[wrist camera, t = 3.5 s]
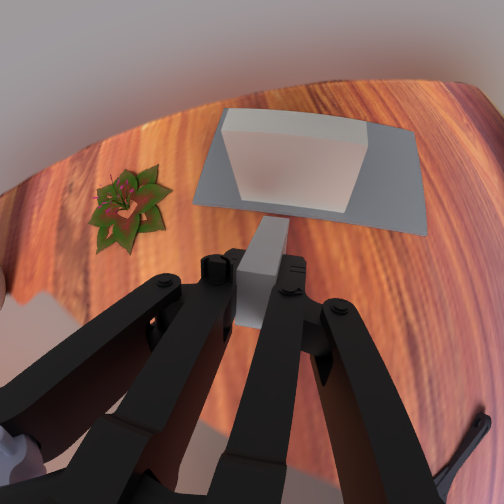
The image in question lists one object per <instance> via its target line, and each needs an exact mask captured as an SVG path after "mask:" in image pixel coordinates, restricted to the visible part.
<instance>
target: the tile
mask: <svg viewBox="0 0 504 504" xmlns="http://www.w3.org/2000/svg"><path fill="white" fill-rule="evenodd" d="M221 133H222V136H223V139H224V143H225V146H226V149H227V153H228V156H229V159H230V163H231V166H232V169H233V173H234V176H235V179H236V183H237V186H238V190H239V193H240V196H241V200H246V201H255V202H264V203H273V204H281V205H289V206H297V207H305V208H313V209H320V210H327V211H334V212H341V213H344V212H345V210H346V207H347V204H348V202H349V199H350V196H351V194H352V191H353V188H354V185H355V183H356V180H357V177H358V174H359V171H360V168H361V165H362V163H363V160H364V157H365V154H366V151H367V148H368V136H367V124H366V121H362V120H356V119H350V118H344V117H337V116H330V115H323V114H315V113H306V112H296V111H284V110H270V109H248V108H229V109H228V112H227V115H226V117H225V120H224V123H223V126H222V129H221Z"/></svg>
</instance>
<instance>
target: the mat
mask: <svg viewBox="0 0 504 504" xmlns="http://www.w3.org/2000/svg"><path fill="white" fill-rule="evenodd" d="M228 109H229V108H224V110H223V113H222V116H221V118H220V121H219V124H218V127H217V129H216V132H215V135H214V138H213V141H212V144H211V146H210V149H209V152H208V155H207V158H206V161H205V164H204V167H203V170H202V173H201V176H200V179H199V183H198V186H197V189H196V192H195V195H194V199H193V202H192V203H193V205H201V206H211V207H221V208H231V209H240V210H249V211H258V212H266V213H274V214H283V215H290V216H298V217H306V218H313V219H320V220H327V221H334V222H341V223H348V224H354V225H361V226H367V227H373V228H380V229H386V230H392V231H397V232H403V233H409V234H415V235H420V236H427V220H426V208H425V198H424V190H423V182H422V175H421V168H420V162H419V156H418V151H417V145H416V140H415V136H414V132H412V131H408V130H404V129H400V128H395V127H391V126H386V125H382V124H377V123H372V122H366V124H367V136H368V148H367V151H366V154H365V157H364V160H363V163H362V165H361V168H360V171H359V174H358V177H357V180H356V183H355V185H354V188H353V191H352V194H351V196H350V199H349V202H348V204H347V207H346V210H345V212H344V213H341V212H334V211H327V210H320V209H313V208H305V207H297V206H289V205H281V204H273V203H264V202H255V201H246V200H241V196H240V193H239V190H238V186H237V183H236V179H235V176H234V173H233V169H232V166H231V163H230V159H229V156H228V153H227V149H226V146H225V143H224V139H223V136H222V133H221V129H222V126H223V123H224V120H225V117H226V115H227V112H228Z"/></svg>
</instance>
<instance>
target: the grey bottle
mask: <svg viewBox="0 0 504 504" xmlns="http://www.w3.org/2000/svg"><path fill="white" fill-rule="evenodd" d="M5 295H6V283H5V277H4V273H3V271H2V268H1V267H0V310H1V309H2V306H3V303H4V300H5Z"/></svg>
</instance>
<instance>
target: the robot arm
mask: <svg viewBox="0 0 504 504" xmlns="http://www.w3.org/2000/svg"><path fill="white" fill-rule="evenodd" d="M288 227H289V219H287V218H279V217H271V216H263V218H262V220H261V222H260V224H259V226H258V228H257V230H256V232H255V234H254V236H253V238H252V240H251V242H250V244H249V246H248V248H247V250H243V249H235V248H232V249H230V250H228V251H227V252H225V254H224V255H219V254H214V255H208V256H205V257H203V258H202V259H201V279H200V280H199V282H198V283H196V284H181V279H180V278H179V276H177V275H175V274H170V273H163V274H159V275H156V276H154V277H152V278H151V279H149V280H148V281H146V282H145V283H144V284H142V285H141V286H139V287H138V288H136V289H135V290H133V291H132V292H131V293H129V294H128V295H126V296H125V297H123V298H122V299H120V300H119V301H118V302H116V303H115V304H113V305H112V306H111V307H109V308H108V309H106V310H105V311H103V312H102V313H101V314H99V315H98V316H96V317H95V318H94V319H92V320H91V321H90V322H88V323H87V324H85V325H84V326H83V327H81V328H80V329H79V330H77V331H76V332H74V333H73V334H72V335H70V336H69V337H68V338H66V339H65V340H64V341H62V342H61V343H60V344H58V345H57V346H56V347H54V348H53V349H52V350H50V351H49V352H48V353H46V354H45V355H44V356H42V357H41V358H40V359H38V360H37V361H36V362H34V363H33V364H32V365H31V366H29V367H28V368H27V369H25V370H24V371H23V372H22V373H20V374H19V375H18V376H16V377H15V378H14V379H13V380H12V381H10V382H9V383H8V384H6V385H5V386H3V387H1V388H0V504H281V499H282V493H283V488H284V483H285V477H286V469H287V465H286V457H287V450H288V444H289V438H290V431H291V425H292V418H293V410H294V403H295V395H296V387H297V379H298V371H299V362H300V352H301V351H304V352H306V353H309V354H310V360H311V364H312V368H313V372H314V376H315V380H316V384H317V388H318V392H319V396H320V400H321V404H322V408H323V412H324V416H325V420H326V425H327V429H328V433H329V437H330V442H331V446H332V450H333V455H334V459H335V464H336V468H337V473H338V477H339V482H340V486H341V491H342V496H343V501H344V504H446V503H445V502H444V501H443V500H442V499H441V498H440V497H439V494H438V491H437V488H436V485H435V482H434V479H433V477H432V474H431V471H430V468H429V466H428V463H427V460H426V458H425V455H424V453H423V450H422V448H421V445H420V443H419V440H418V438H417V435H416V433H415V430H414V428H413V426H412V423H411V421H410V419H409V416H408V414H407V412H406V409H405V407H404V405H403V403H402V400H401V398H400V396H399V394H398V391H397V389H396V387H395V385H394V383H393V381H392V379H391V376H390V374H389V372H388V370H387V368H386V366H385V364H384V362H383V360H382V358H381V356H380V354H379V352H378V350H377V348H376V346H375V344H374V342H373V340H372V338H371V336H370V334H369V332H368V330H367V328H366V326H365V324H364V322H363V320H362V318H361V316H360V314H359V313H358V311H357V309H356V307H355V306H354V305H353V304H352V303H350V302H349V301H347V300H344V299H339V298H332V299H328V300H326V301H325V302H324V303H323V304H320V303H317V302H315V301H313V300H311V299H310V298H309V297H308V296H307V295H306V293H305V278H306V261H305V260H304V258H303V257H300V256H292V255H285V254H286V245H287V236H288ZM154 317H155V322H153V323H152V324H150V320H152V319H153V318H154ZM234 318H235V325H240V326H245V327H251V328H257V329H261V331H260V334H259V338H258V342H257V345H256V349H255V352H254V356H253V359H252V363H251V366H250V370H249V373H248V377H247V380H246V384H245V387H244V391H243V394H242V398H241V401H240V404H239V408H238V411H237V414H236V418H235V421H234V424H233V428H232V431H231V434H230V437H229V440H228V444H227V447H226V449H225V451H224V453H222V455H221V457H220V459H219V461H218V464H217V467H216V470H215V473H214V476H213V479H212V482H211V485H210V488H209V491H208V493H207V495H193V494H180V493H175V492H174V491H175V488H176V485H177V481H178V472H179V467H180V464H181V461H182V459H183V456H184V454H185V451H186V449H187V446H188V444H189V441H190V439H191V436H192V434H193V431H194V429H195V426H196V424H197V421H198V419H199V416H200V414H201V411H202V409H203V406H204V403H205V401H206V398H207V396H208V393H209V391H210V388H211V386H212V383H213V380H214V378H215V375H216V373H217V370H218V368H219V365H220V362H221V360H222V357H223V355H224V352H225V349H226V347H227V344H228V342H229V339H230V336H231V334H232V323H233V320H234ZM127 391H128V392H127ZM126 392H127V394H126V395H125V397H124V398H123V400H122V402H121V403H120V405H119V407H118V408H117V410H116V411H115V412H114V413H112V414H105V413H106V412H107V411H108V410H109V409H110V408H111V407H112V406H113V405H114V404H115V403H116V402H117V401H118V400H119V399H120V398H121V397H122V396H123V395H124V394H125V393H126ZM90 427H91V428H90ZM89 428H90V430H89V431H88V433H87V434H86V436H85V438H84V439H83V441H82V443H81V444H80V446H79V447H78V449H77V451H76V452H75V454H74V456H73V457H72V459H71V461H70V462H69V464H68V466H67V467H66V468H63V469H60V470H57V471H55V472H51V473H48V474H46V472H47V471H46V467H45V466H44V465H43V464H44V463H46V462H48V461H50V460H52V459H54V458H56V457H57V456H59V455H60V454H62V453H63V452H64V451H65V450H67V449H68V448H69V447H70V446H72V444H74V443H75V442H76V441H77V440H78V439H79V438H80V437H81V436H82V435H83V434H84V433H85V432H86V431H87V430H88V429H89Z"/></svg>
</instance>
